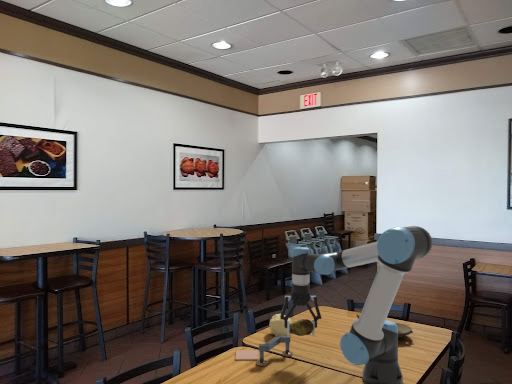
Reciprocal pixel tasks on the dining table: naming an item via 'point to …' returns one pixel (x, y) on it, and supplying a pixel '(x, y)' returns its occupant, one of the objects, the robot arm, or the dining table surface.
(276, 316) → the cream lumpy ball
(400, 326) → the oil lamp
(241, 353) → the plate
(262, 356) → the rail
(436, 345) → the dining table surface
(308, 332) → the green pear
